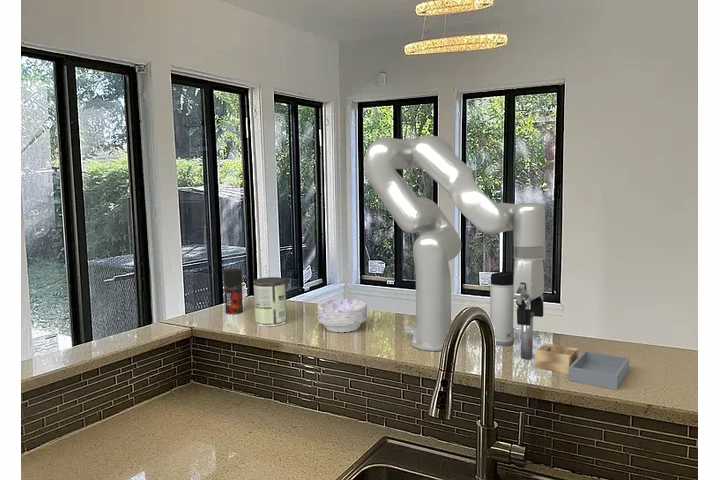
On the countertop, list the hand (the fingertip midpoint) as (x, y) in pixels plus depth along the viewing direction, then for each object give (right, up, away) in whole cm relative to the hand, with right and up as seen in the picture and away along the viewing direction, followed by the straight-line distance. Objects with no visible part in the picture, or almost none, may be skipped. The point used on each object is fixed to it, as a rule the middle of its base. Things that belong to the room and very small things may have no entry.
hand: (530, 320), depth 136 cm
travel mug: (-3, -9, +15) cm, 17 cm away
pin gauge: (-1, -10, +2) cm, 10 cm away
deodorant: (-87, -5, +54) cm, 103 cm away
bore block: (+5, -10, -5) cm, 12 cm away
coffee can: (-72, -7, +39) cm, 82 cm away
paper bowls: (-48, -7, +31) cm, 58 cm away
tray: (+12, -11, -11) cm, 20 cm away
